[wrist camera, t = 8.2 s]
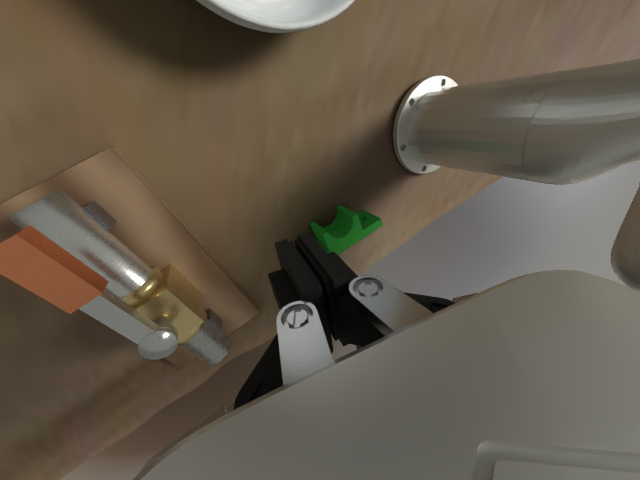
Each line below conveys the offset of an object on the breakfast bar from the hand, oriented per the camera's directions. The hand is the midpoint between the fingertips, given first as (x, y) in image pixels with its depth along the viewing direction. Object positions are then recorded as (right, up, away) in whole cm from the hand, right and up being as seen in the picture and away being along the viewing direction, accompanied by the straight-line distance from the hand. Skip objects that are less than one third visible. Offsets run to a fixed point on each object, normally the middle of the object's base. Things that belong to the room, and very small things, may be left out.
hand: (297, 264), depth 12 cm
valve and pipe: (-17, -3, +15) cm, 22 cm away
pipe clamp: (+2, +3, +24) cm, 24 cm away
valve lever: (-16, -3, +8) cm, 18 cm away
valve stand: (-17, -3, +16) cm, 24 cm away
